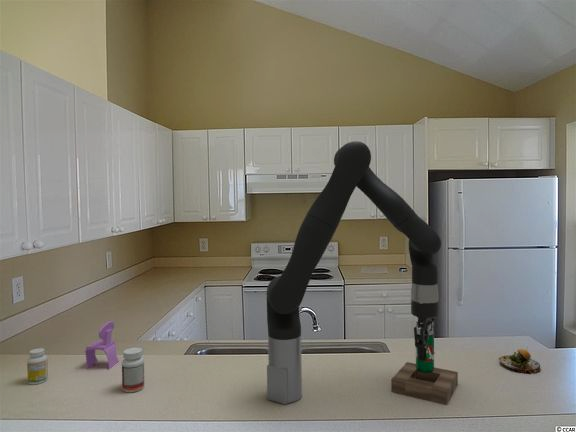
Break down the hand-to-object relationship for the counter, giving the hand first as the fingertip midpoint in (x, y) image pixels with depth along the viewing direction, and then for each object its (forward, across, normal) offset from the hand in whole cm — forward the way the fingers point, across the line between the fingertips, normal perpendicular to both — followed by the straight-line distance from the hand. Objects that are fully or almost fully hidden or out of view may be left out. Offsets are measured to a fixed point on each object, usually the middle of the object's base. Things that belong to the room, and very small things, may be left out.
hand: (424, 356), depth 120 cm
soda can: (+4, 0, 0) cm, 4 cm away
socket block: (+9, 0, 0) cm, 9 cm away
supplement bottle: (+9, +56, -103) cm, 117 cm away
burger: (+9, -31, +22) cm, 39 cm away
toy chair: (+9, +38, -97) cm, 105 cm away
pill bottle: (+9, +44, -73) cm, 86 cm away
